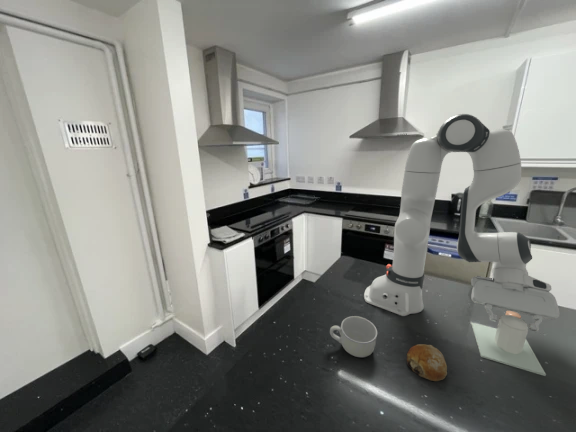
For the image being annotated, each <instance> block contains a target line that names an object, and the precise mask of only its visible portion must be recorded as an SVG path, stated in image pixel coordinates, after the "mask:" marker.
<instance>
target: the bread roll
mask: <svg viewBox="0 0 576 432" xmlns="http://www.w3.org/2000/svg"><path fill="white" fill-rule="evenodd" d="M406 364H407V366H408V368H410V370H411V371H412V372H413V373H415V374H416V375H418V376H419V377H421V378H424V379H426V380H427V381H428V380H429V381H430V382H431V381H433V382H440V381H443V380H444V379H445V378H446V376H447V375H448V372H447V371H448V366H447V362H446V360H445V356H444V354H443V353H442V351H440V350H439V349H438V348H437V347H435V346H434V345H432V344H425V343H424V344H423V343H418V344H415V345H413V346H411V347H410V348H409V349H408V351H407V353H406Z"/></svg>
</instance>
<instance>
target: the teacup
mask: <svg viewBox="0 0 576 432" xmlns="http://www.w3.org/2000/svg"><path fill="white" fill-rule="evenodd" d="M334 331H338V332H339V335H340V336H338V335H337V334H335V333H334ZM329 334H330V336H331V338H333V339H334V340H335V341H337V342H338V343H339V344H341V345H342V347H343V349H344V351H346V352H347V353H348V354H349V355H351V356H354V357H355V358H366V357H368V356H371V354H373V352H374V350H375V348H376V343H377V336H378V330H377V327H376V326H375V324H374V323H373V322H371V320H368V319H367V318H365V317H362V316H358V315H354V316H353V315H352V316H347V317H346V318H344V319H343V320H342V321H341V325H340V326H339V325H333V326H331V327H330V329H329Z"/></svg>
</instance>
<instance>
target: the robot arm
mask: <svg viewBox="0 0 576 432" xmlns="http://www.w3.org/2000/svg"><path fill="white" fill-rule="evenodd" d="M449 153H467V154H468V155H469V156H470V158H471V161H472V169H473V178H472V181H471V183H470V185H469V186H467V187H466V188H465V189H464V191H463V194H462V199H461V207H460V221H459V232H458V233H459V234H458V239H457V243H456V251H457V254H458V256H459V257H460V258H462V259H463V260H464V261H466V262H468V263H481V262H483V263H487V262H488V263H492V264H493V265H492V266H493V267H492V270H491V273H492V275H491V276H492V277H486V276H481V275H476V276H473V277H471V279H470V285H471V287H472V290H471V296H470V297H471V298H470V299H471V301H472V302H473V303H474V304H478V305H482V306H484V309H485V311H486V312H487V314H488V316H489V321H491V322H495V323H496V322H497V321H498V315H497V314H494V311H493V310H492V308H496V309H499V310H504V311H513V312H516V313H518V314H523V315H528V316H531V317H533V318H532V319H533V321H534V323H532V322H531V323H529V325H528V327H529V330H530V331H533V332H539V331H540V328H539V327H540V324H541V323H542V321H544V320H550V321H552V320H556V319H557V318H559V317H560V309H559V305H558V301H557V299H556V297H555V295H554V294H553V293H552V292H551V291H552V286H551V284H550V283H548V282H546V281H542V280H540V279H538V278H535V277H532V276H531V275H529V272H528V270H527V264H529V262H531V260H533V255H532V252H531V251H532V250H531V247H532V243H531V240H530V239H529V238H528V237H527V236H526V235H524V234H522V233H520V232H515V231H509V232H508V231H504V232H503V231H501V232H500V231H498V232H477V231H475V224H476V213H477V210H478V208H479V207H480V206H481V205H483V204H485V203H488V202H489V201H491V200H494V199H498V198H500V197H501V196H504V195H506V194H508V193H510V192H511V191H512V190H514V189H515V188H516V187H517V186H518V185H519V184H520V183H521V181H522V160H521V154H520V149H519V145H518V143H517V140H516V137H515V135H514V133H513V132H512V131H510V130H507V129H504V128H497V129H495V128H494V129H491V130H490V129H489V128H488V127H487V126H486V125H485V124H484V123H483V122H482V121H481V120H480V119H478V117H476V116H474V115H472V114H468V113H462V114H461V113H460V114H456V115H453V116H451V117H449V118H448V119H446V120H445V121H444V122H443V123H442V125H441V126H440V127H439V129H438V131H437V133H436V134H435V135H434V136H432V137H425V138H421V139H417V140H416V141H414V142H413V143H412V144H411V146H410V149H409V151H408V155H407V158H406V161H405V166H404V167H405V168H404V173H403V178H402V179H403V181H402V184H401V185H402V187H401V194H400V195H401V199H400V208H399V215H398V218H397V220H396V221H395V224H394V235H393V236H394V237H393V248H394V249H393V257H392V264H390V263H388V264H387V265H386V266H385V268H386V269H385V270H386V272H385V274H384V275H381V276H378V277H376V278H374V280H373V281H372V283H371V284H370V285H369V286H367V287H366V289H365V290H364V293H363V298H364V301H365V303H368V304H370V305H373V306H375V307H378V308H380V309H383V310H386V311H388V312H390V313H391V312H392V313H394V314H397V315H399V316H401V317H406V316H408V315H410V314H418V313H420V312H423V310H424V302H423V288H424V285H425V266H426V265H425V264H426V257H427V252H428V244H429V237H430V230H431V221H432V215H433V210H434V206H435V201H436V198H437V197H436V196H437V192H438V187H439V181H440V176H441V172H442V171H441V170H442V165H443V162H444V159H445V157H446V156H447V155H448V154H449Z"/></svg>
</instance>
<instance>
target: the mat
mask: <svg viewBox="0 0 576 432" xmlns="http://www.w3.org/2000/svg"><path fill="white" fill-rule="evenodd" d="M471 327H472V331H473V335H474V338H475V341H476V345H477V347H478V351H479V355H480V357H481V358H484V359H486V360H491V361H494V362H497V363H501V364H504V365H507V366H510V367H513V368H518V369H520V370H523V371H527V372H530V373H533V374H537V375H541V376H544V377H546V375H547V373H546V372H545V370H544V368H543V367H542V365H541V363H540V362H539V359H538V357H537V356H536V354H535V353H534V351H533V349H532V347H531V346H530V344H529V341H528V340H527V339H526V340H525V343H524V347H523V350H522V352H521V353H519V354H513V353H510V352H506V351H504V350H503V349H501V348H500V347H498V346H497V345H496V343H495V340H494V339H495V335H496V331H497V327H495V328H494V327H492V326H488V325H484V324H481V323H475V322H471Z"/></svg>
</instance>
